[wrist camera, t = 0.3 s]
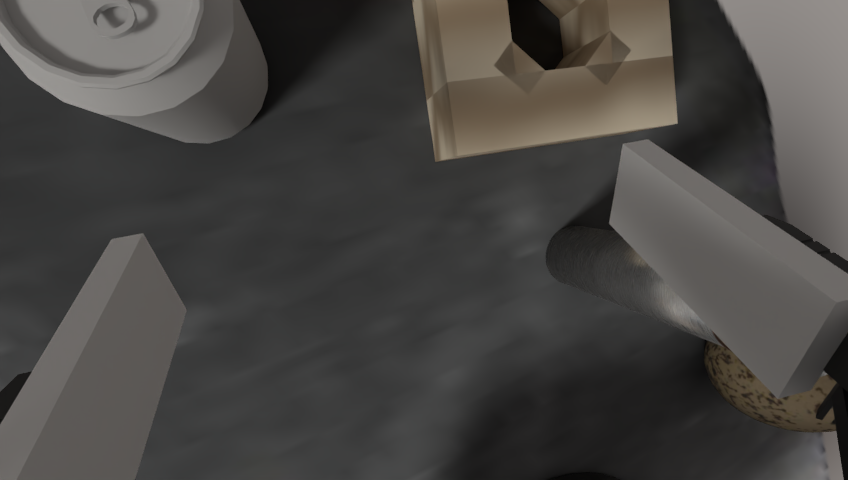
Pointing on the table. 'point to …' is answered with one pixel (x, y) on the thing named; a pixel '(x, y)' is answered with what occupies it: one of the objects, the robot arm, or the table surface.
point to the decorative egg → (766, 394)
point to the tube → (620, 277)
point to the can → (144, 61)
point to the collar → (543, 75)
